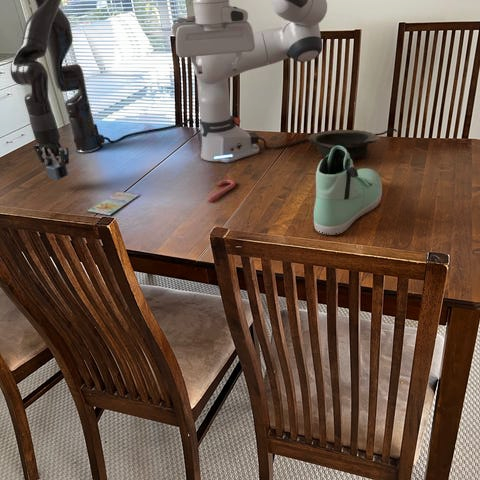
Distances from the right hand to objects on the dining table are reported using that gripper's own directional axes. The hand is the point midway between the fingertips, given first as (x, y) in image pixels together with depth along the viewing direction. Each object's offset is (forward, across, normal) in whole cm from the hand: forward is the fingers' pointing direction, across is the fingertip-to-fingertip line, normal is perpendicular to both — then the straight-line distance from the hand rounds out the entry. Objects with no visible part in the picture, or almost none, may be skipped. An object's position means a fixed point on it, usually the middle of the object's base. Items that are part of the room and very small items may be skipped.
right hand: (217, 72), depth 126 cm
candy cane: (+39, -2, +9) cm, 40 cm away
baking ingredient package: (+39, -36, +8) cm, 54 cm away
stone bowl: (+39, +43, +29) cm, 65 cm away
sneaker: (+39, +34, -11) cm, 53 cm away
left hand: (+34, -56, +24) cm, 70 cm away
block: (+34, -56, +24) cm, 70 cm away
